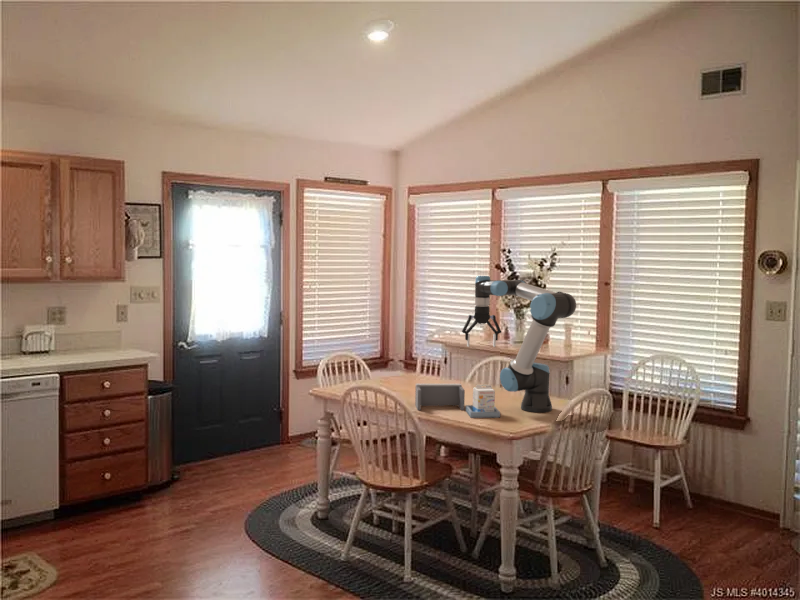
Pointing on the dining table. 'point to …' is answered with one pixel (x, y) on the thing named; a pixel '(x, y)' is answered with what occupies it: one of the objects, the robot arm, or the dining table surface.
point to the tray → (482, 413)
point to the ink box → (483, 398)
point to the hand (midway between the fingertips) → (481, 346)
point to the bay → (439, 395)
